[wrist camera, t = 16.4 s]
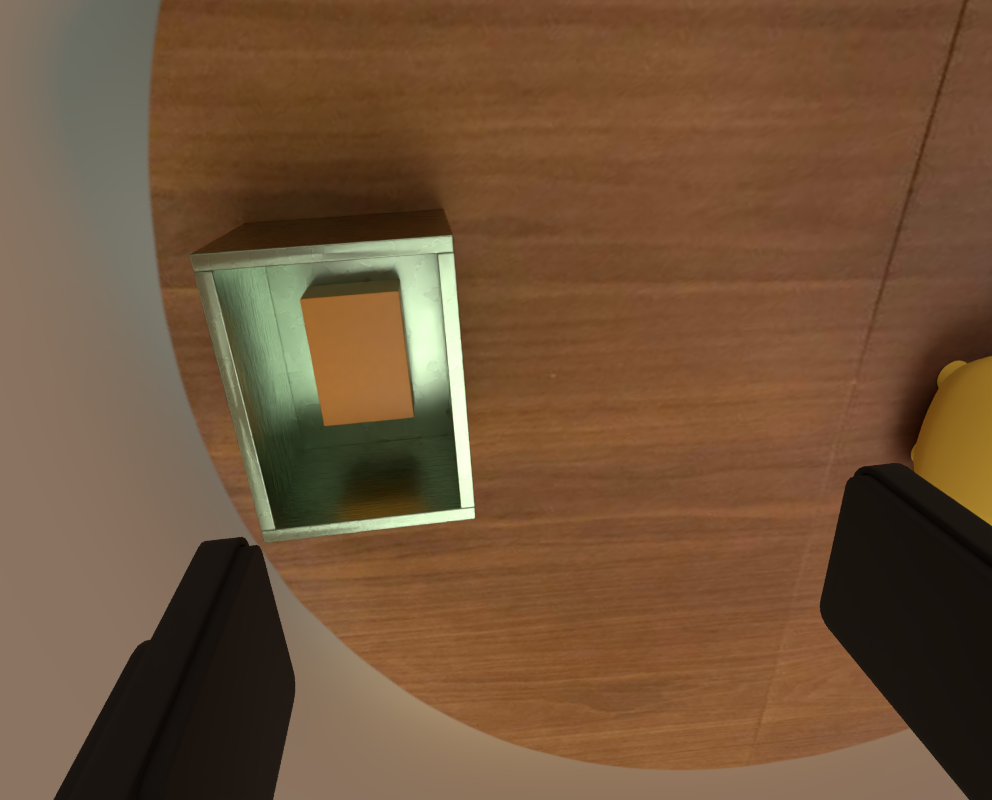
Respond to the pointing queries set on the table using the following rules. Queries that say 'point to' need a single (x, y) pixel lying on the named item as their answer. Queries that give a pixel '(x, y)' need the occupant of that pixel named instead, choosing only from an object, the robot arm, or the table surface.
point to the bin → (292, 387)
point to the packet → (359, 351)
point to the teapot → (960, 436)
